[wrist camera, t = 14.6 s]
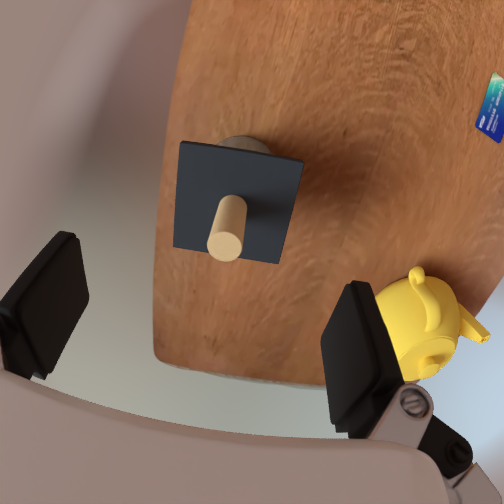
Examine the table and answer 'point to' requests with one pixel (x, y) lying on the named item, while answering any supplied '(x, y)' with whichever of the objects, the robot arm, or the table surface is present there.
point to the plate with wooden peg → (234, 201)
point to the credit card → (493, 110)
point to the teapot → (425, 323)
